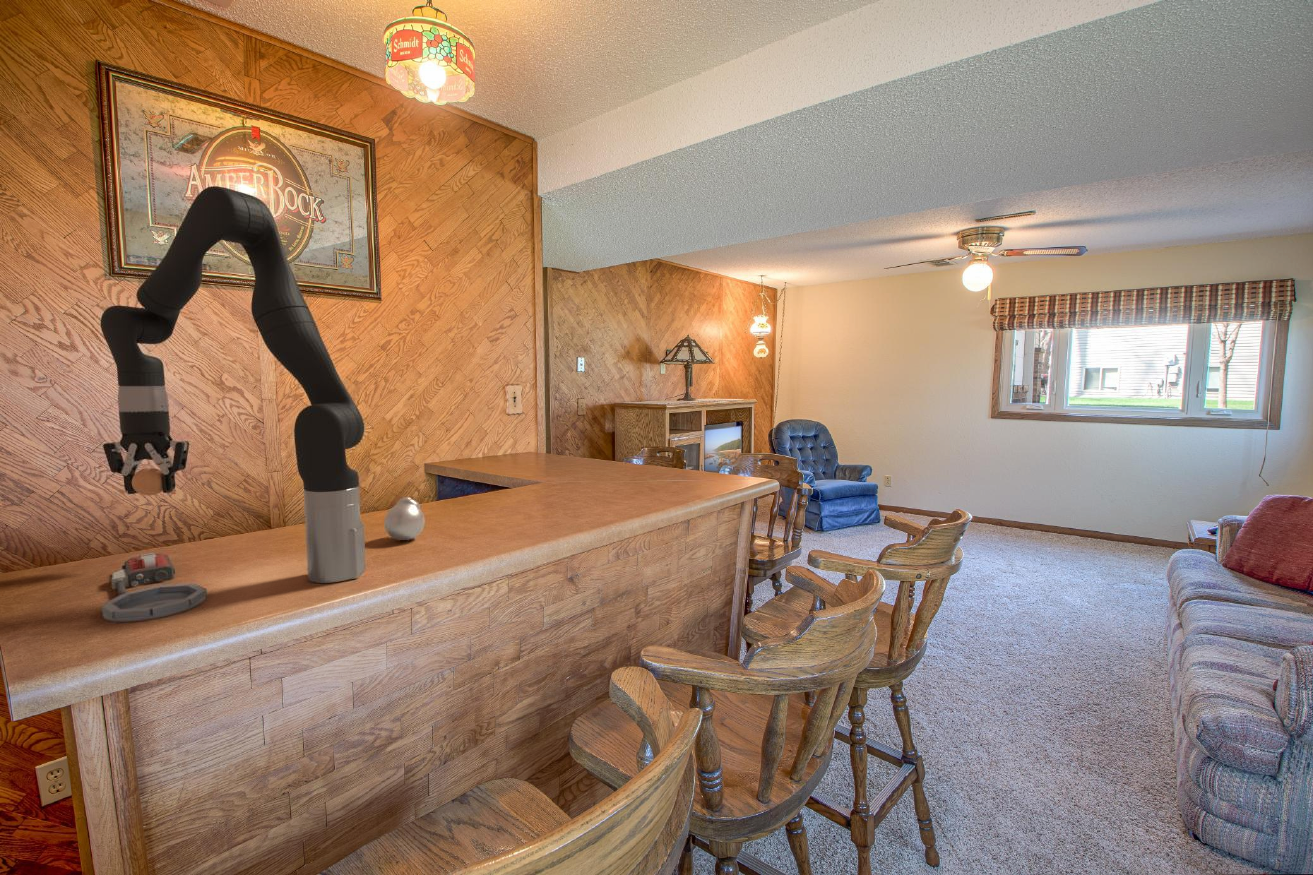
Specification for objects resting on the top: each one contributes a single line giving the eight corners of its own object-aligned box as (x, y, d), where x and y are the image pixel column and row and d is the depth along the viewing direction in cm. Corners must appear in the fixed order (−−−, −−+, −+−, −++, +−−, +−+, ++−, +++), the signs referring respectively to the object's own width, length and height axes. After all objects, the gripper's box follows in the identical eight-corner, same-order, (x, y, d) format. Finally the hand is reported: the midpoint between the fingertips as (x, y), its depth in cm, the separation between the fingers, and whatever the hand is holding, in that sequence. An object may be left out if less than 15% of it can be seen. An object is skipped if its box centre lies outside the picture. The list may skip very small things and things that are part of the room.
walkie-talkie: (109, 575, 113) (114, 603, 99) (107, 553, 113) (112, 578, 99) (168, 565, 119) (181, 591, 105) (167, 544, 119) (179, 567, 105)
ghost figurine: (435, 537, 142) (434, 496, 141) (403, 547, 133) (402, 503, 132) (408, 532, 145) (406, 493, 144) (375, 542, 137) (374, 500, 136)
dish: (221, 589, 105) (220, 581, 105) (179, 618, 92) (178, 608, 92) (136, 594, 102) (135, 586, 102) (81, 625, 90) (80, 615, 89)
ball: (174, 492, 121) (172, 465, 121) (158, 497, 116) (156, 469, 116) (143, 493, 120) (141, 466, 120) (126, 498, 115) (123, 470, 114)
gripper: (87, 410, 111) (95, 498, 113) (174, 409, 114) (181, 495, 116) (114, 408, 119) (121, 491, 120) (195, 407, 122) (201, 488, 123)
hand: (150, 492), depth 118 cm, fingers closed on ball, 5 cm apart
